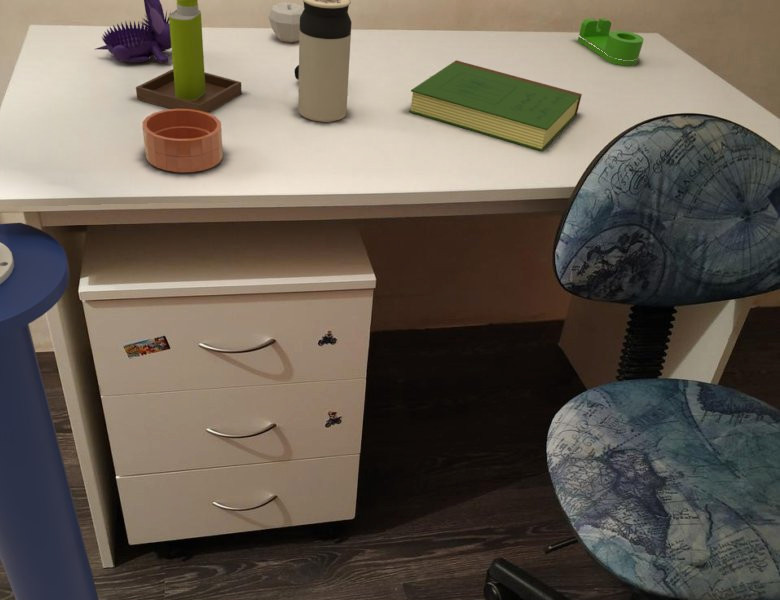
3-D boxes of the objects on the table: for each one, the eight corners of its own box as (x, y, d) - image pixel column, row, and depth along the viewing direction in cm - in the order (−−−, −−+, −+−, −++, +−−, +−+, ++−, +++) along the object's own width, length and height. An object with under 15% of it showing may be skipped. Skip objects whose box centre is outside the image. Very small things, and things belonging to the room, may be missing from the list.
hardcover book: (576, 115, 143) (581, 94, 140) (542, 151, 130) (547, 128, 127) (449, 79, 150) (452, 59, 148) (404, 110, 137) (407, 88, 135)
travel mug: (311, 126, 129) (314, 7, 117) (290, 107, 134) (291, -9, 122) (354, 119, 132) (362, 3, 120) (332, 101, 137) (337, -13, 125)
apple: (311, 47, 156) (312, 11, 152) (271, 46, 155) (271, 10, 150) (305, 33, 162) (306, -2, 158) (266, 32, 160) (266, -3, 156)
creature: (201, 65, 144) (196, -7, 136) (95, 67, 139) (84, -8, 131) (195, 48, 150) (190, -22, 142) (93, 49, 145) (83, -24, 137)
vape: (208, 89, 135) (201, -42, 122) (194, 102, 130) (184, -33, 117) (187, 85, 135) (178, -46, 122) (172, 98, 131) (161, -37, 118)
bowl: (194, 181, 112) (192, 147, 108) (130, 161, 114) (126, 127, 111) (236, 153, 119) (235, 120, 116) (175, 135, 122) (172, 102, 119)
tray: (200, 117, 127) (199, 105, 126) (136, 99, 130) (135, 87, 129) (241, 93, 136) (241, 82, 135) (181, 77, 139) (180, 65, 138)
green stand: (643, 64, 167) (650, 41, 164) (615, 66, 164) (621, 43, 161) (603, 40, 177) (609, 18, 174) (576, 41, 174) (581, 19, 171)
